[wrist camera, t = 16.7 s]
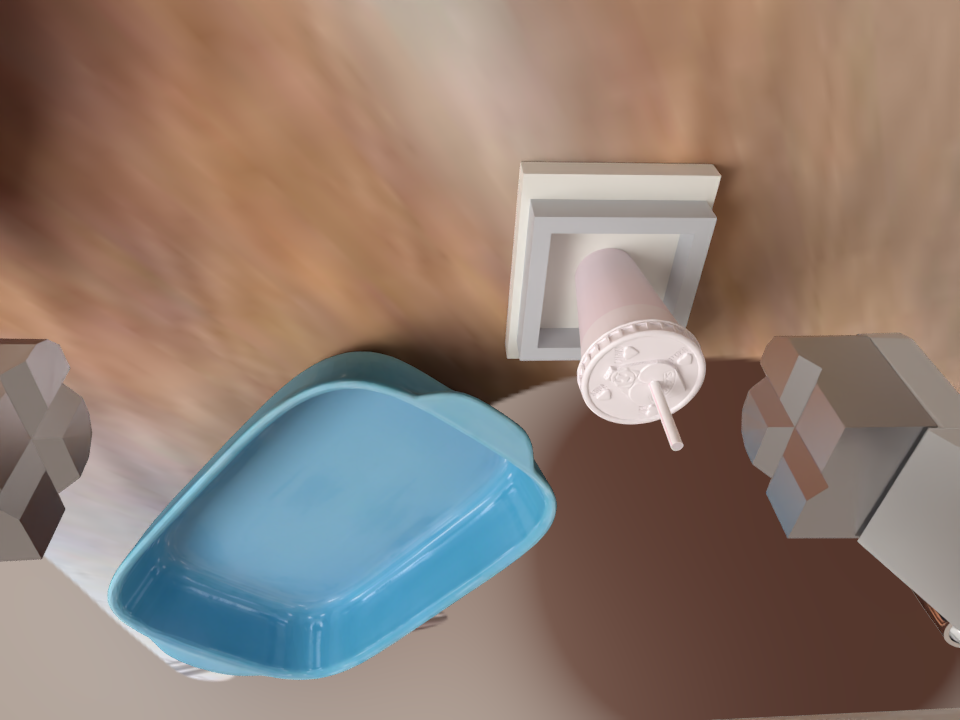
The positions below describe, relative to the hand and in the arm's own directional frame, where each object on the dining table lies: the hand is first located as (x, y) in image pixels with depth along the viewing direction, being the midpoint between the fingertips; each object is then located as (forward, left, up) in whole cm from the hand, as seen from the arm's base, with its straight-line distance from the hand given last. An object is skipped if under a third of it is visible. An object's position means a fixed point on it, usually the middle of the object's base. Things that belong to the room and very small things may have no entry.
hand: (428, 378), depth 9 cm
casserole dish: (+7, +39, -32) cm, 51 cm away
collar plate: (-11, +18, -31) cm, 38 cm away
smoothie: (-11, +18, -30) cm, 36 cm away
